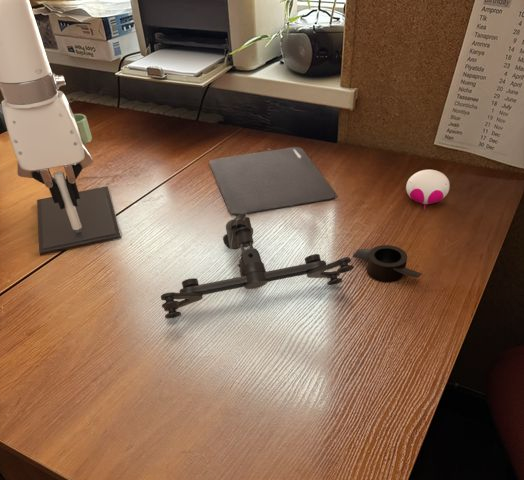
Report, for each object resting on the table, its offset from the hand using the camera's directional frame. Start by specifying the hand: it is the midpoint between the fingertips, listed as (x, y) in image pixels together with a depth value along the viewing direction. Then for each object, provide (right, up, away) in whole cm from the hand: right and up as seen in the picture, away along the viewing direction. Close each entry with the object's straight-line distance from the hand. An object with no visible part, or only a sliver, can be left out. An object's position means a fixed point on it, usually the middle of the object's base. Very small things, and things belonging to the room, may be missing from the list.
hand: (68, 203), depth 86 cm
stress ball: (+63, +2, +7) cm, 64 cm away
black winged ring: (+53, -13, -7) cm, 55 cm away
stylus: (0, -4, +4) cm, 6 cm away
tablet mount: (+31, -14, -7) cm, 34 cm away
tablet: (-2, -1, +9) cm, 9 cm away
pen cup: (-11, +25, +35) cm, 44 cm away
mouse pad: (+35, +10, +17) cm, 40 cm away
